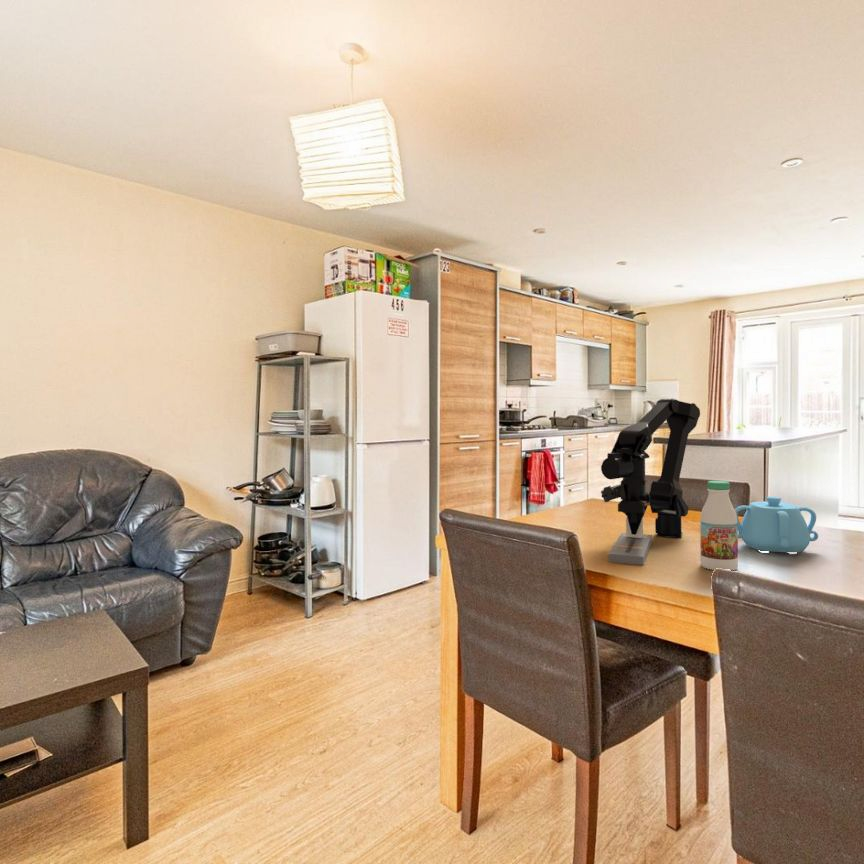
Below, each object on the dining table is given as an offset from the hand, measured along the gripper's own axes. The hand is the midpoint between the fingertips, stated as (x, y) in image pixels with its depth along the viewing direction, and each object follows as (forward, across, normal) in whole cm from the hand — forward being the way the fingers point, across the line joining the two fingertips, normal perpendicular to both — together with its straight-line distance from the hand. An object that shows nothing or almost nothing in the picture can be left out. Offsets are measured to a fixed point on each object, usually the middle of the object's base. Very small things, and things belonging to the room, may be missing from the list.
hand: (634, 533), depth 151 cm
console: (+3, +7, 0) cm, 8 cm away
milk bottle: (+3, +15, +20) cm, 25 cm away
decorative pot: (+4, -7, +33) cm, 34 cm away
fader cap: (+1, 0, 0) cm, 1 cm away
